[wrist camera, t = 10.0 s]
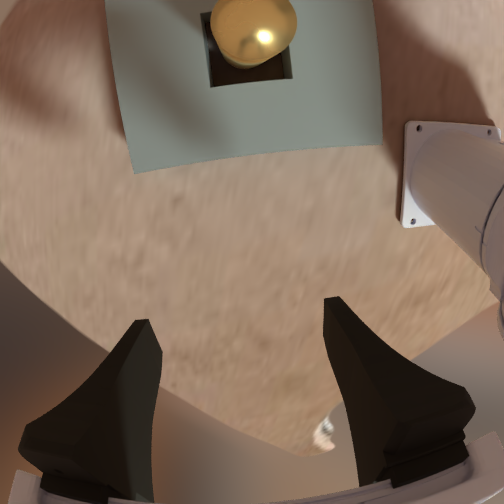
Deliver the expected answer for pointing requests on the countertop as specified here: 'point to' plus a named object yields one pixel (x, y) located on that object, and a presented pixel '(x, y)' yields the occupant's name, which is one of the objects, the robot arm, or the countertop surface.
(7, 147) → the countertop surface
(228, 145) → the hole plate
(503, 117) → the countertop surface
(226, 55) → the long pin
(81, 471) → the robot arm
